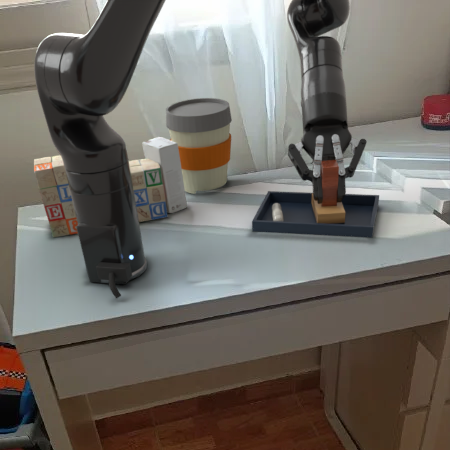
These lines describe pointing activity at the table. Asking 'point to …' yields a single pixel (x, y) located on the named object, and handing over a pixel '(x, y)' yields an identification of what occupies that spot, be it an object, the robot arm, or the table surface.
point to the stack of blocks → (62, 201)
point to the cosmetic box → (168, 171)
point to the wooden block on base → (329, 196)
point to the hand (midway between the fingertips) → (330, 200)
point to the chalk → (277, 212)
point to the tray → (304, 220)
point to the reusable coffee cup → (201, 141)
